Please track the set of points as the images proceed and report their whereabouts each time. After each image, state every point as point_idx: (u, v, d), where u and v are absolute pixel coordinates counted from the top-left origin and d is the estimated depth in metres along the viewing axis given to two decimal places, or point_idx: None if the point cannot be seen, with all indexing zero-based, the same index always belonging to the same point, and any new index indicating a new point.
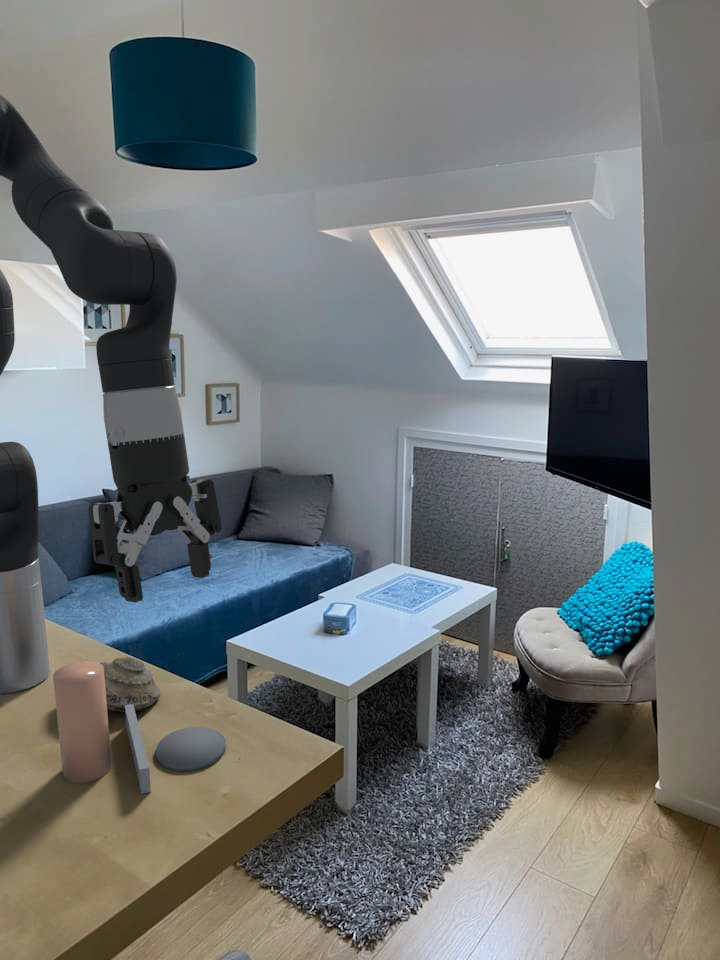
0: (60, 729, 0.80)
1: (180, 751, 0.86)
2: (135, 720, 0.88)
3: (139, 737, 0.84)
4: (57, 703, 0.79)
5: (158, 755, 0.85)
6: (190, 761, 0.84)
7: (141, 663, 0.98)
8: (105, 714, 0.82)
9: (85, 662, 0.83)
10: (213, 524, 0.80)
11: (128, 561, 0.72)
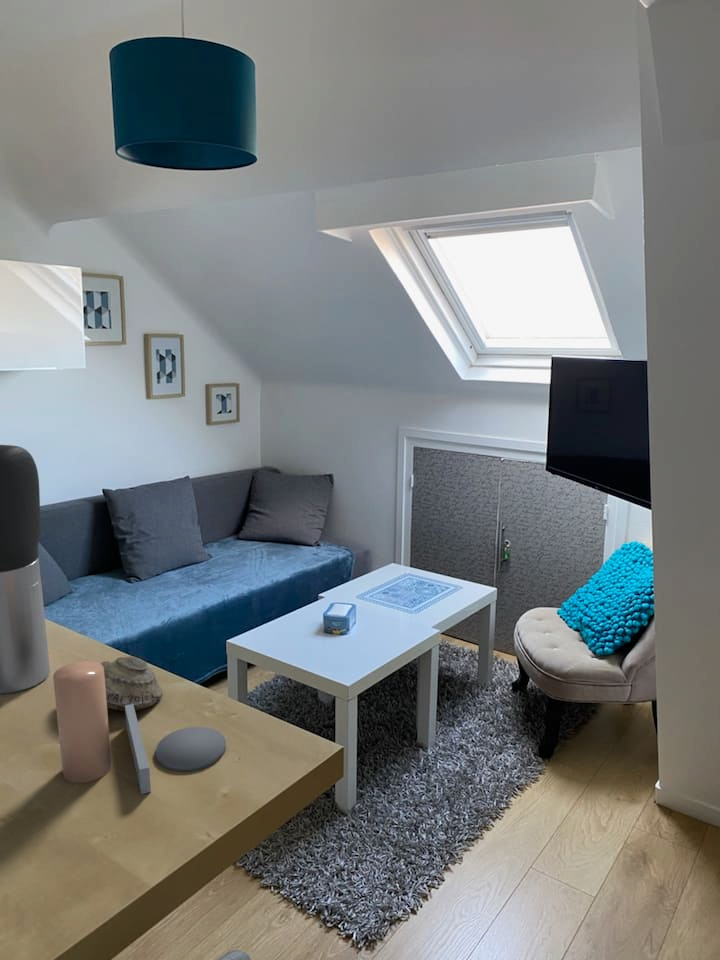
0: (60, 729, 0.80)
1: (180, 751, 0.86)
2: (135, 720, 0.88)
3: (139, 737, 0.84)
4: (57, 704, 0.79)
5: (158, 755, 0.85)
6: (190, 761, 0.84)
7: (144, 662, 0.98)
8: (105, 714, 0.82)
9: (85, 662, 0.83)
10: None
11: None
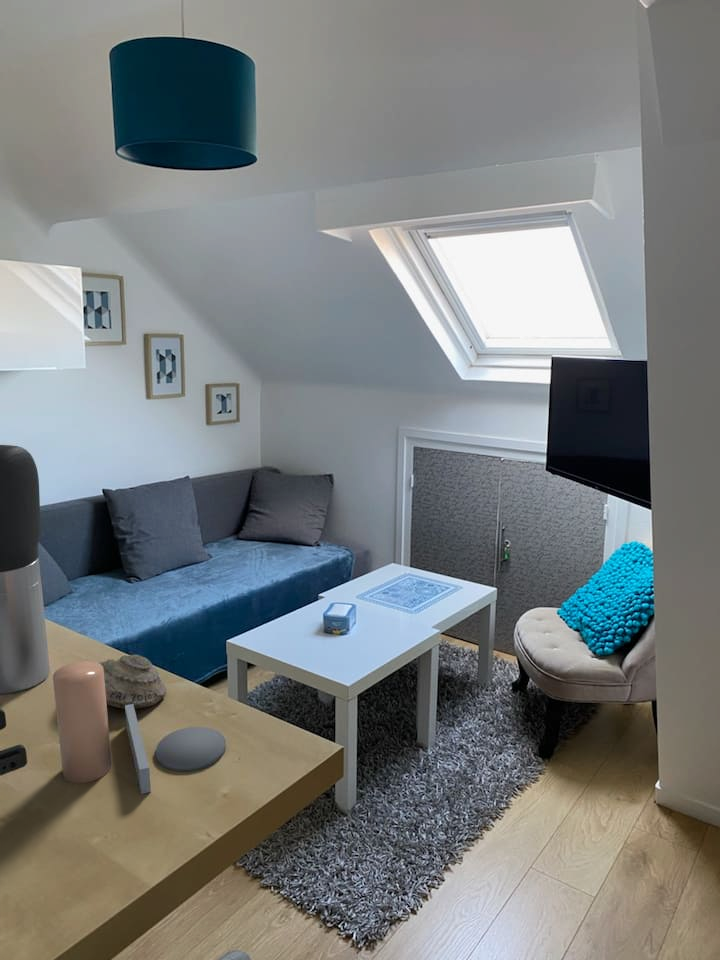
0: (60, 729, 0.80)
1: (180, 751, 0.86)
2: (135, 720, 0.88)
3: (139, 737, 0.84)
4: (57, 704, 0.79)
5: (158, 755, 0.85)
6: (190, 761, 0.84)
7: (148, 661, 0.99)
8: (105, 714, 0.82)
9: (85, 662, 0.83)
10: None
11: None
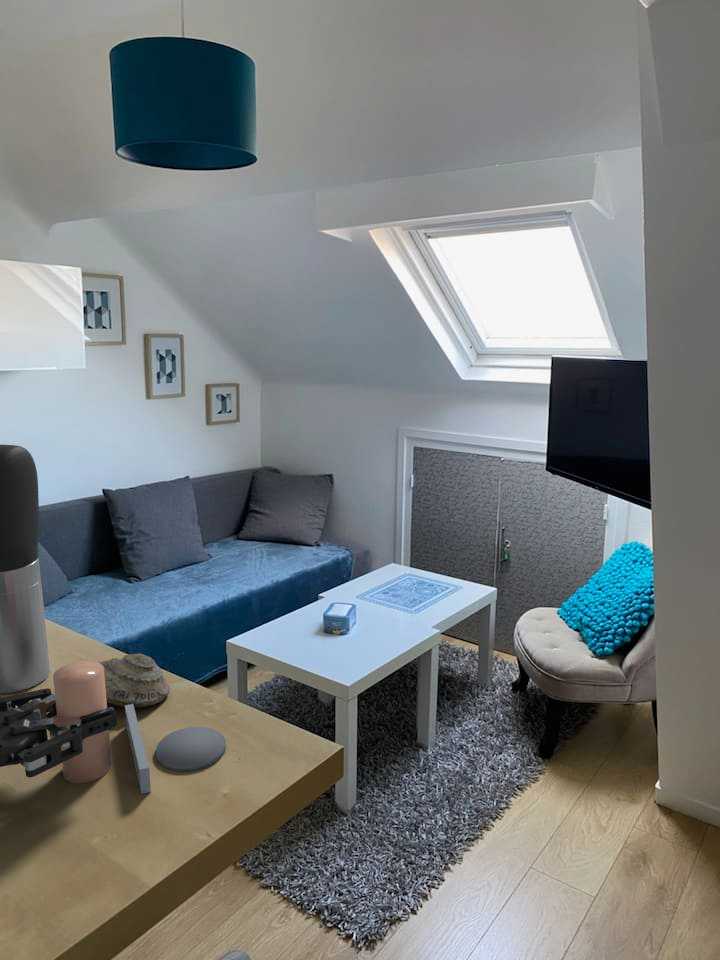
0: None
1: (180, 751, 0.86)
2: (135, 720, 0.88)
3: (139, 737, 0.84)
4: (57, 703, 0.79)
5: (158, 755, 0.85)
6: (190, 761, 0.84)
7: (151, 659, 0.99)
8: None
9: (85, 662, 0.83)
10: None
11: None
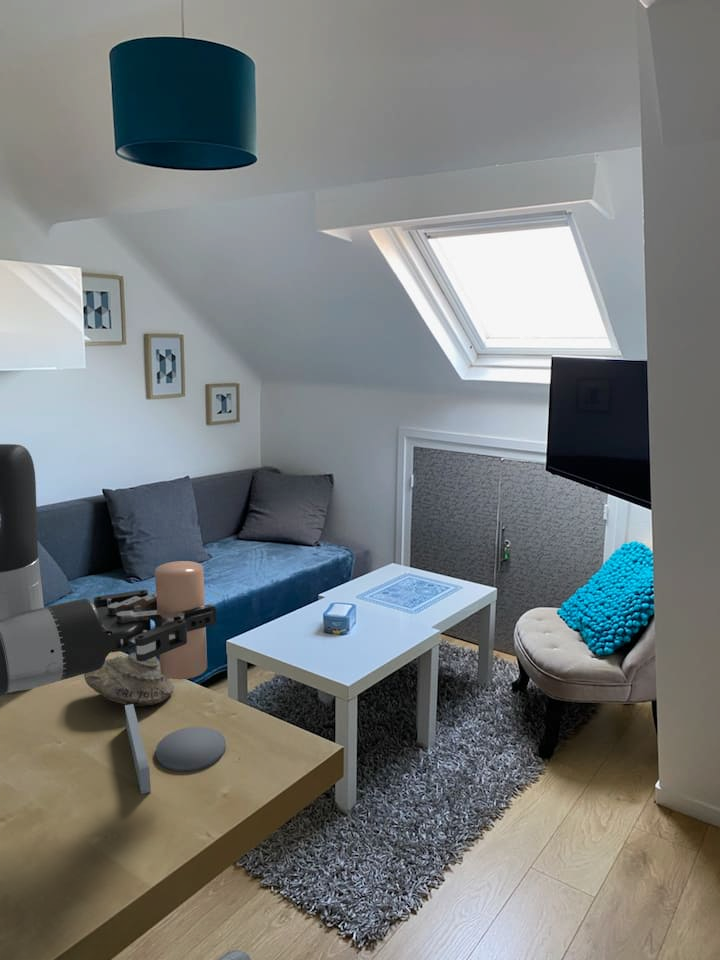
0: None
1: (180, 751, 0.86)
2: (135, 720, 0.88)
3: (139, 737, 0.84)
4: (159, 598, 0.80)
5: (158, 755, 0.85)
6: (190, 761, 0.84)
7: (155, 658, 0.99)
8: None
9: (183, 562, 0.83)
10: None
11: None
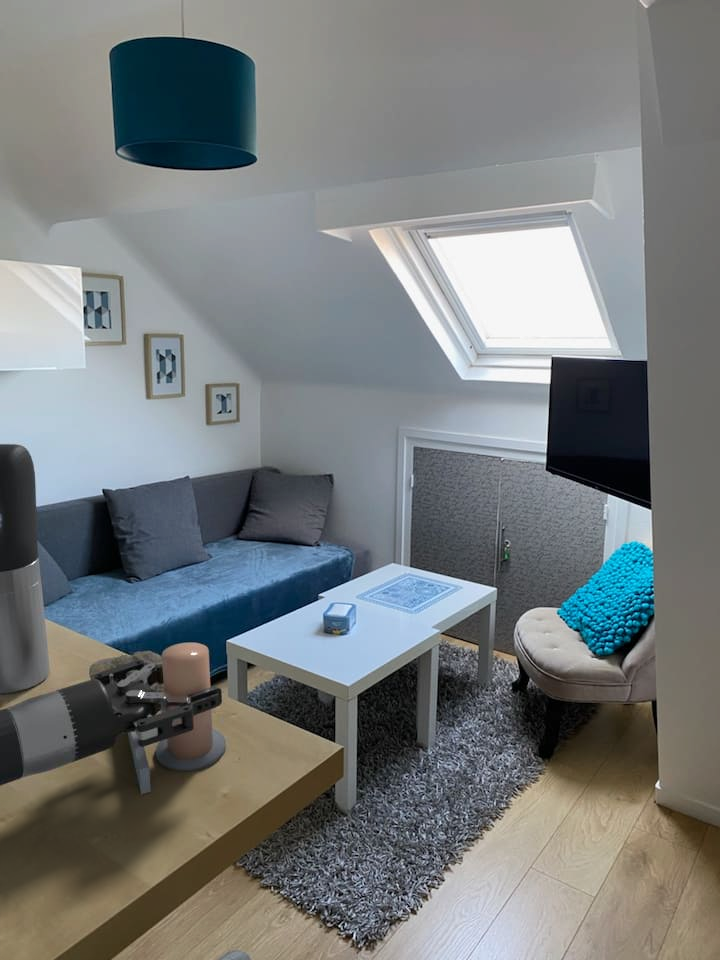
0: None
1: None
2: None
3: None
4: (166, 683, 0.83)
5: (158, 755, 0.85)
6: (190, 761, 0.84)
7: (160, 657, 1.00)
8: None
9: (188, 643, 0.86)
10: None
11: None
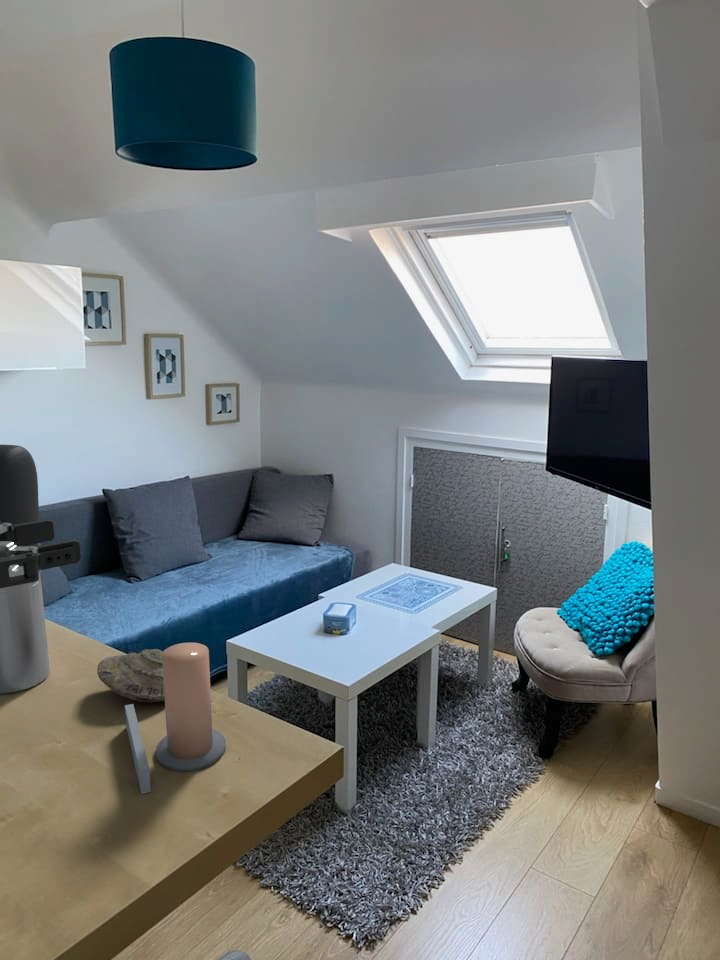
0: (168, 707, 0.83)
1: None
2: (135, 720, 0.88)
3: (139, 737, 0.84)
4: (166, 683, 0.83)
5: (158, 755, 0.85)
6: (190, 761, 0.84)
7: None
8: (209, 693, 0.85)
9: (188, 643, 0.86)
10: None
11: None
